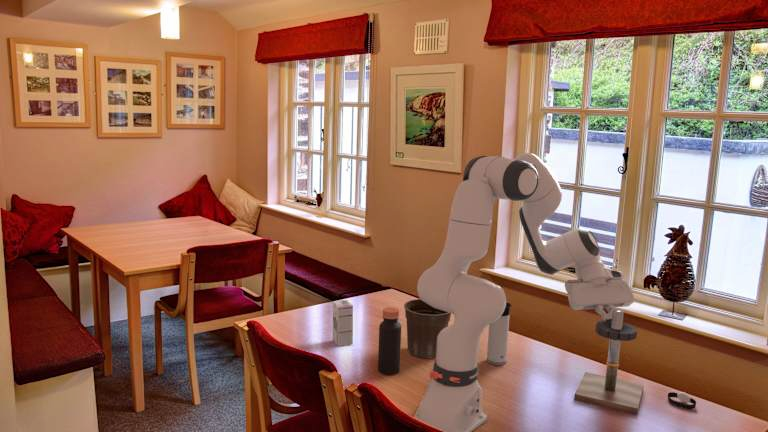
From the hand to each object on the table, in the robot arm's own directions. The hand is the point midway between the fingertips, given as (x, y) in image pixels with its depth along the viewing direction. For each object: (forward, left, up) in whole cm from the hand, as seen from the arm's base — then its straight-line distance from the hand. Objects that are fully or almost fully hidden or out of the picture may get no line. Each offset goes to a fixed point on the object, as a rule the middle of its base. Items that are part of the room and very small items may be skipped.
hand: (609, 320), depth 186 cm
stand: (-3, -2, -22) cm, 22 cm away
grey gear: (-3, -2, -3) cm, 4 cm away
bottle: (-22, +61, -22) cm, 68 cm away
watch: (+2, -21, -22) cm, 31 cm away
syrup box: (-10, +85, -22) cm, 88 cm away
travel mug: (+3, +34, -22) cm, 40 cm away
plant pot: (-2, +57, -22) cm, 61 cm away
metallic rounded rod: (-3, -2, -20) cm, 20 cm away
